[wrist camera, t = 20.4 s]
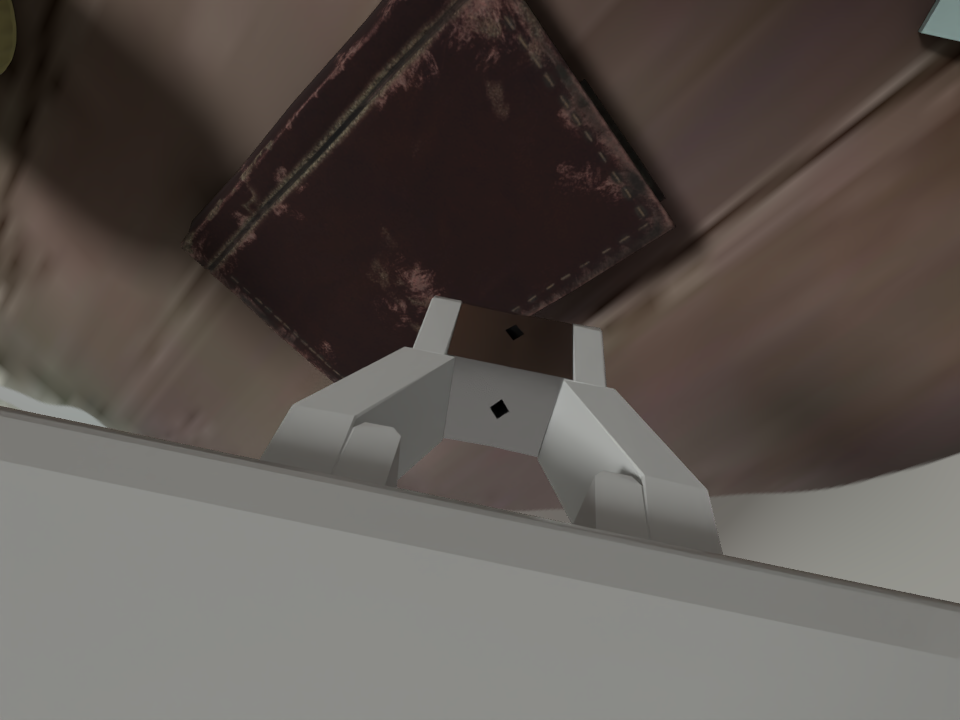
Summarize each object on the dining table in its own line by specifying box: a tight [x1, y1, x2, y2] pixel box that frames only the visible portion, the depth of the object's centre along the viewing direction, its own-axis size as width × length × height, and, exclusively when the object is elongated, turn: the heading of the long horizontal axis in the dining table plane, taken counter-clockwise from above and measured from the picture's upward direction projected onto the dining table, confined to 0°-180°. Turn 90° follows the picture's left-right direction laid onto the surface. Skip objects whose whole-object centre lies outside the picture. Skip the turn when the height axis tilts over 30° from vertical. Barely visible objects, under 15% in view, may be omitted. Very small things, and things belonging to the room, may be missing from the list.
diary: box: [181, 0, 676, 383], centre depth 33 cm, size 19×25×5 cm
